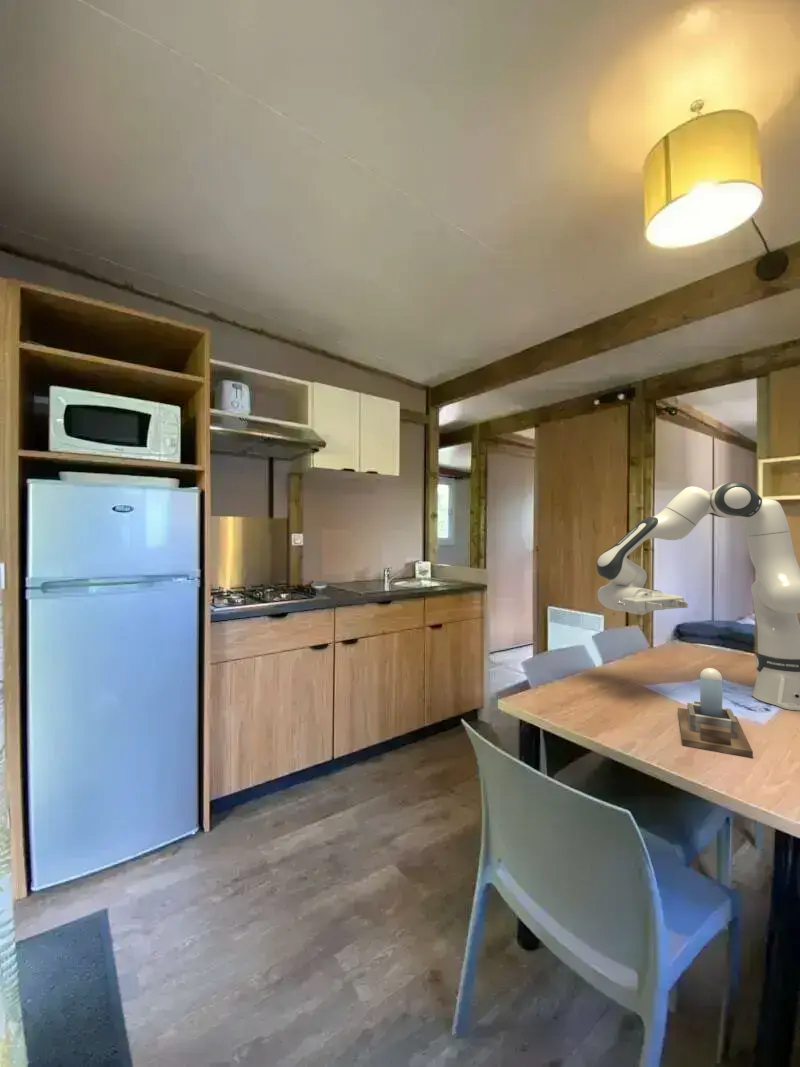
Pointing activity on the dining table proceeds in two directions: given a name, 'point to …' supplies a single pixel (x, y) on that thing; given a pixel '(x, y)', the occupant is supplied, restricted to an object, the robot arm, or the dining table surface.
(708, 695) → the dome-topped blue cylinder
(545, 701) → the dining table surface
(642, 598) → the robot arm
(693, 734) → the cradle
